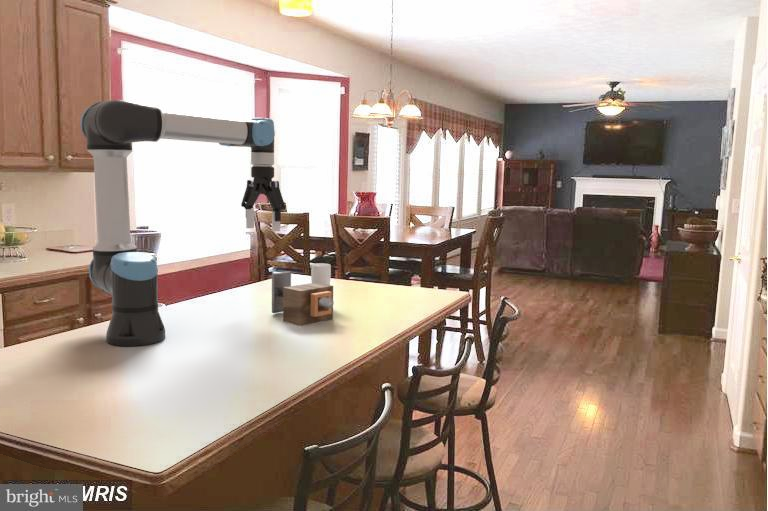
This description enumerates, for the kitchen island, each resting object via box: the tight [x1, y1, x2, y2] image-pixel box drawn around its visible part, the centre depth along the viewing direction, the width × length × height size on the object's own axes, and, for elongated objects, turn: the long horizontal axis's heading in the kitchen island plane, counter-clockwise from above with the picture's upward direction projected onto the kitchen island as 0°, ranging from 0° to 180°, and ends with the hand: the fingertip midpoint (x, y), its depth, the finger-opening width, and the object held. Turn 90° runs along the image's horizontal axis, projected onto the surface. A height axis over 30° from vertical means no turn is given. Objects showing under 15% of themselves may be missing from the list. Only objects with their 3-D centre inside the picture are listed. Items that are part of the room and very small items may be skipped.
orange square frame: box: [311, 291, 332, 317], centre depth 198 cm, size 7×2×7 cm, turn 138°
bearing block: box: [282, 282, 334, 327], centre depth 202 cm, size 14×8×11 cm, turn 138°
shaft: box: [271, 271, 334, 314], centre depth 203 cm, size 7×24×13 cm, turn 48°
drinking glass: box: [310, 262, 332, 285], centre depth 222 cm, size 7×7×15 cm
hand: (262, 229), depth 214 cm, fingers open, 13 cm apart
